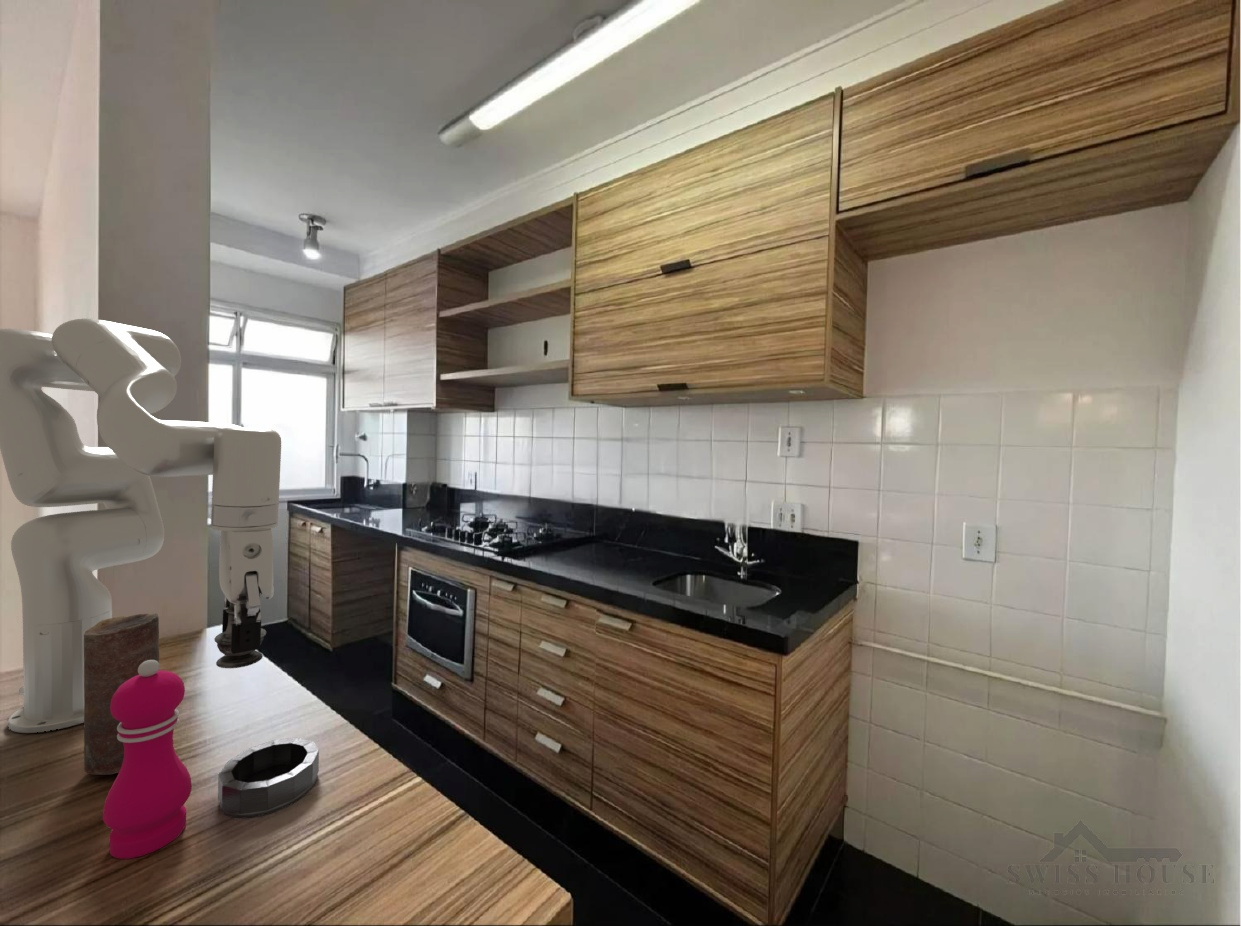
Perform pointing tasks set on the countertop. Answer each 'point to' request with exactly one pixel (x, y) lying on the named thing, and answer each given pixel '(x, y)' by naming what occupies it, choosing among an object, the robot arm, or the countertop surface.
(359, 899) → the countertop surface
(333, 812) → the countertop surface
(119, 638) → the candle
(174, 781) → the pepper mill
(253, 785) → the dark gray faceted bowl
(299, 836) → the countertop surface
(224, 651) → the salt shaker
